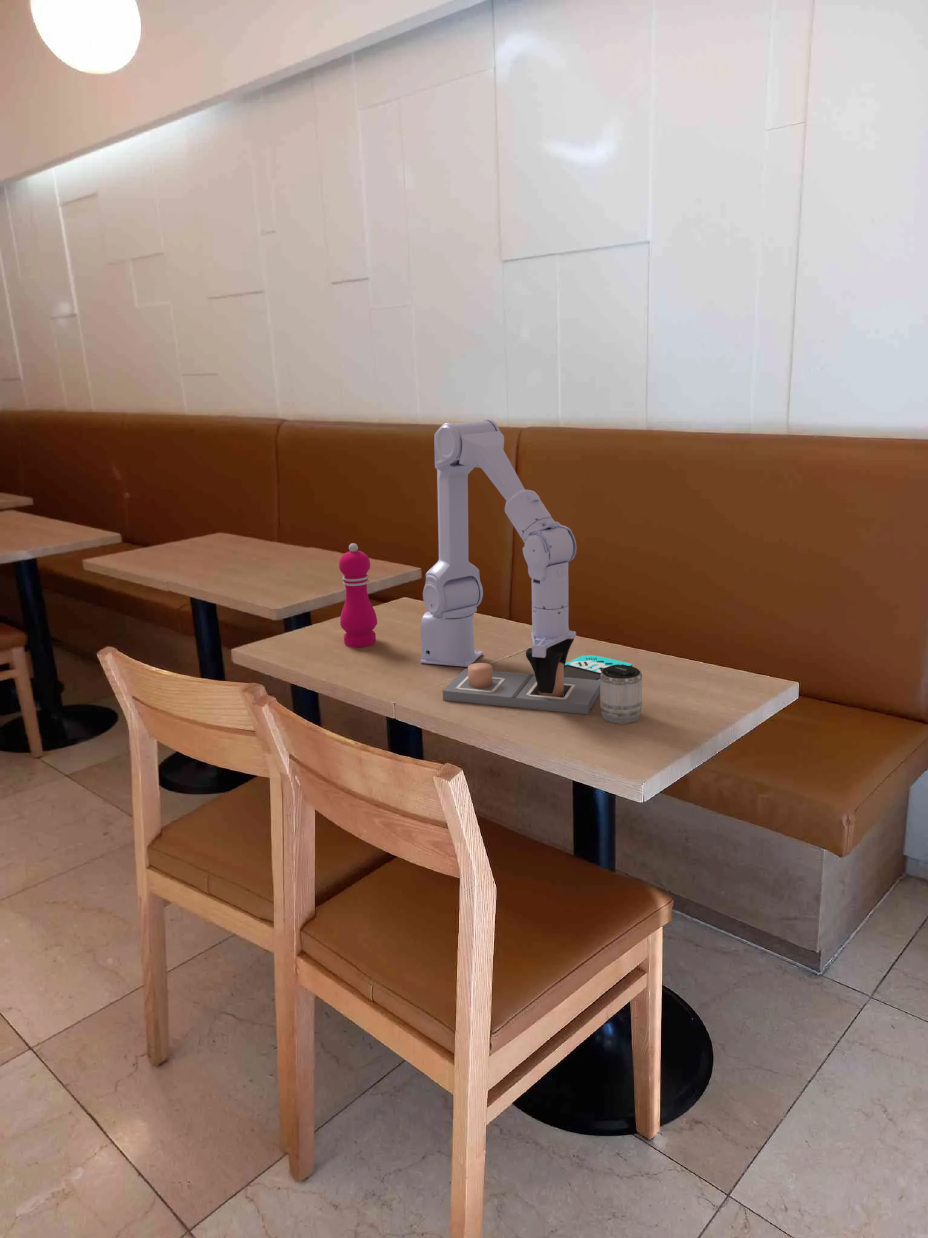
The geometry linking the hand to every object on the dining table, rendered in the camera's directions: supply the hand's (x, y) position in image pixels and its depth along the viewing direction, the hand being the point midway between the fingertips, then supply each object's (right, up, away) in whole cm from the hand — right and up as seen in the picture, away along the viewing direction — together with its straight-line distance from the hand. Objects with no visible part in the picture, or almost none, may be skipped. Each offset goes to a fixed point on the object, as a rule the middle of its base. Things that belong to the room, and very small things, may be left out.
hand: (550, 685), depth 146 cm
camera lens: (+10, -4, -7) cm, 13 cm away
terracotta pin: (0, -2, +1) cm, 2 cm away
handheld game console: (+7, 0, +12) cm, 14 cm away
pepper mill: (-35, +6, +33) cm, 48 cm away
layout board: (-4, -2, +3) cm, 6 cm away
